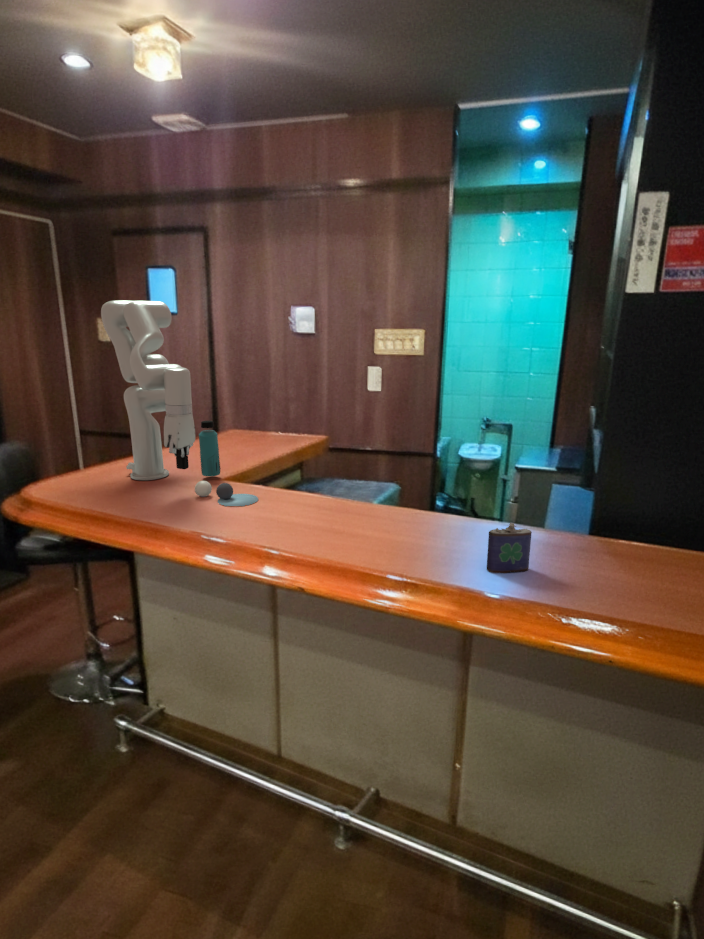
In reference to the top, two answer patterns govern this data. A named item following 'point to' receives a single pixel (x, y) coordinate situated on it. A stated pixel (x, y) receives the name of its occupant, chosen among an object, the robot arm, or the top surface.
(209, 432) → the beverage bottle
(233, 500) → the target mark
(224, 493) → the object ball
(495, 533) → the flask
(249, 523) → the top surface
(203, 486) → the cue ball
